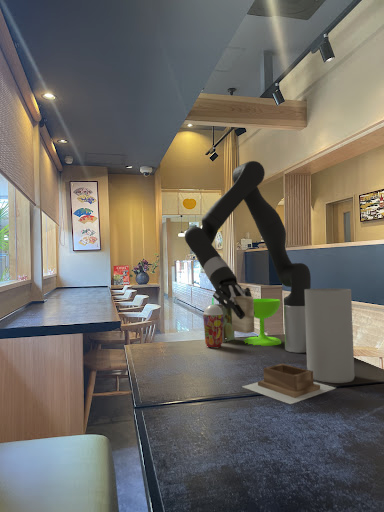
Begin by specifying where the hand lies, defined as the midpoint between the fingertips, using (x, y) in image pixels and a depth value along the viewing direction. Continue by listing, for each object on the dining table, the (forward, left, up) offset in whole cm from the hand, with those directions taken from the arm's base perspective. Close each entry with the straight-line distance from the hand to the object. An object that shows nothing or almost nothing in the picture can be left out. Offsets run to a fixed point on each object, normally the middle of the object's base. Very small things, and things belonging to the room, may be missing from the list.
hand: (247, 316), depth 103 cm
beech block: (0, -2, -4) cm, 5 cm away
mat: (-2, +13, -18) cm, 22 cm away
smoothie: (-20, -40, -18) cm, 48 cm away
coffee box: (-32, -48, -18) cm, 61 cm away
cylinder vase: (-18, +14, -18) cm, 29 cm away
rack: (-2, +13, -17) cm, 21 cm away
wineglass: (-42, -34, -18) cm, 57 cm away
